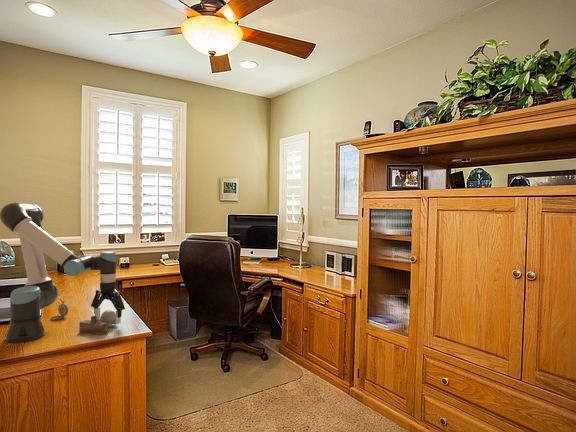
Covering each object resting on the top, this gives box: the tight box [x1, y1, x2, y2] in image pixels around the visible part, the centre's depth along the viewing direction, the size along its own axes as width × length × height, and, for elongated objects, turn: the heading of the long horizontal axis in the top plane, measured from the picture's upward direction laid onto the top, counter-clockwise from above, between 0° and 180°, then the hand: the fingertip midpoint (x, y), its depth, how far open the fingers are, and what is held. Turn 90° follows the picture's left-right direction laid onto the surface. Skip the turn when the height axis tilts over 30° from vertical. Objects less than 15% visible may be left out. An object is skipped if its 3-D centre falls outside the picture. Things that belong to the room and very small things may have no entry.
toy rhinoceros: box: [96, 309, 117, 329], centre depth 195 cm, size 7×12×8 cm, turn 123°
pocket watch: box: [50, 300, 69, 321], centre depth 209 cm, size 8×8×10 cm
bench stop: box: [79, 315, 109, 336], centre depth 187 cm, size 4×14×8 cm, turn 71°
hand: (107, 322), depth 195 cm, fingers open, 13 cm apart
